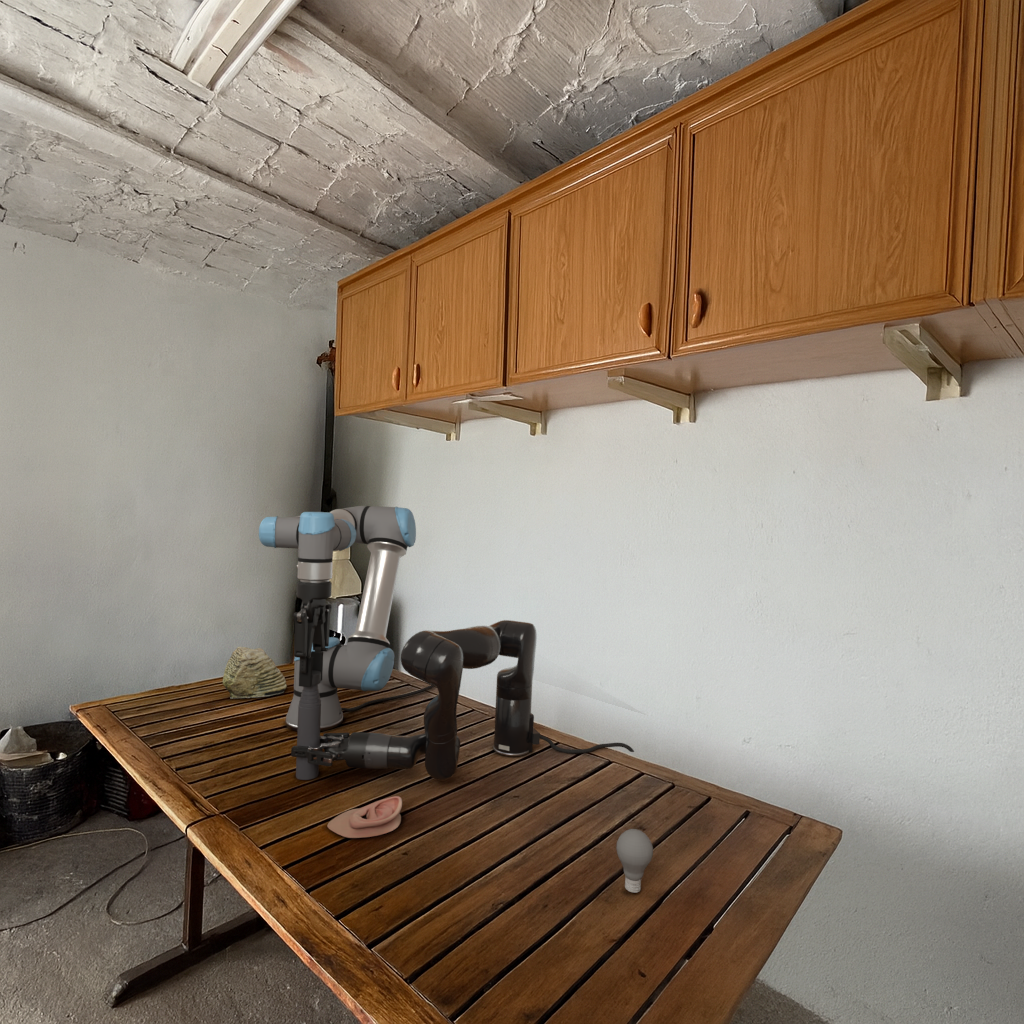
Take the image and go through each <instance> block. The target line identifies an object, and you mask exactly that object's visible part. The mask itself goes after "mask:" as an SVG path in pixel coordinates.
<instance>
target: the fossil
mask: <svg viewBox="0 0 1024 1024" xmlns="http://www.w3.org/2000/svg"><path fill="white" fill-rule="evenodd" d="M222 676H223V677H222V685H223V687H224V688H225V690H226V691H228V693H229V698H230V699H250V698H264V697H271V696H275V695H281V694H284V693H285V691H286V689H287V687H288V686H287V680H286V678H285V676H284V674H283V673H282V672H281V669H279V668H278V667H277V665H276V663H275V662H274V660H273V659H272V658H271V657H270V656H269V655H268V654H267V653H266V652H265V650H264V649H263V648H260V647H258V648H251V647H247V646H246V647H245V646H238V647H237V648H236V649H235V650H233V651H232V653H231V656H230V657H229V659H228V660H227V663H226V666H225V668H224V671H223V675H222Z"/></svg>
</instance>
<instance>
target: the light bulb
mask: <svg viewBox="0 0 1024 1024" xmlns="http://www.w3.org/2000/svg"><path fill="white" fill-rule="evenodd" d="M615 849H616V854H617V857H618V859H619V861H620V863H621V865H622V867H623V873H624V874H623V875H624V876H625V878H624V888H625V890H627V891H628V892H630V893H634V894H635V893H639V892H640V891H641V889H642V887H641V886H642V879H643V877H644V875H645V871H646V868H647V867H648V866H649V864H650V863H651V861H652V859H653V855H654V847H653V843H652V841H651V838H649V836H648V835H647V834H646V833H645V832H643V831H642V830H641V829H636V828H629V829H627V830H625V831H623V832H622V833H621V834H620V835H619V837H618V839H617V841H616V847H615Z"/></svg>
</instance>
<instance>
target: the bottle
mask: <svg viewBox="0 0 1024 1024" xmlns="http://www.w3.org/2000/svg"><path fill="white" fill-rule="evenodd" d="M320 723H321V700H320V696H319V689H318V684H317V685H312V686H311V687H303V690H302V693H301V697H300V701H299V705H298V730H297V731H296V732H297V733H296V746H308V747H314V746H319V745H320V736H321V731H320ZM315 751H319V750H315ZM295 759H296V761H295V762H296V763H295V778H296V779H297V780H301V781H309V780H313V779H317V778H318V776H319V771H320V765H317V764H311V763H308V762H307V761H308V758H306V757H295ZM316 760H317V759H316Z"/></svg>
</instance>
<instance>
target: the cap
mask: <svg viewBox="0 0 1024 1024" xmlns="http://www.w3.org/2000/svg"><path fill="white" fill-rule="evenodd" d="M320 683H321V672H320V671H316V670H312V685H317V684H320Z"/></svg>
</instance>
